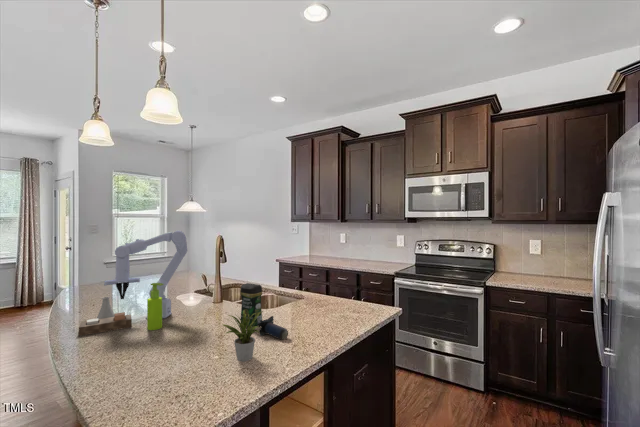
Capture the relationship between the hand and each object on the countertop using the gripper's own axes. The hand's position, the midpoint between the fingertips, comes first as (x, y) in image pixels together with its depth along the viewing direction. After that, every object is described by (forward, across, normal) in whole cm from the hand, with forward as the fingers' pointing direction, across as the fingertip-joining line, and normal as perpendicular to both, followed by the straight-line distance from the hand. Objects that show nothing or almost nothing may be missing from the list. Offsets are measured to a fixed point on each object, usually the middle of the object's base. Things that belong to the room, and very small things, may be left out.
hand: (122, 298), depth 153 cm
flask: (+11, -7, +10) cm, 16 cm away
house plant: (+10, +36, -72) cm, 81 cm away
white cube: (+10, -11, -9) cm, 18 cm away
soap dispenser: (+10, +13, -21) cm, 27 cm away
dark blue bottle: (+10, +53, -60) cm, 80 cm away
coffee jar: (+10, +50, -40) cm, 65 cm away
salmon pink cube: (+9, -1, -9) cm, 13 cm away
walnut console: (+10, -6, -9) cm, 15 cm away
